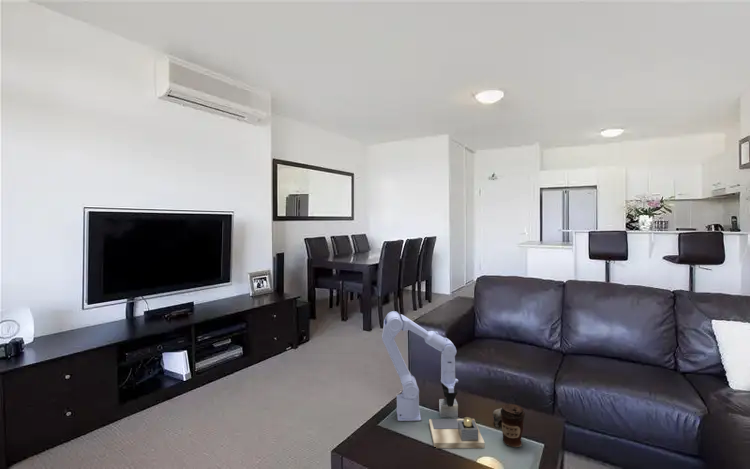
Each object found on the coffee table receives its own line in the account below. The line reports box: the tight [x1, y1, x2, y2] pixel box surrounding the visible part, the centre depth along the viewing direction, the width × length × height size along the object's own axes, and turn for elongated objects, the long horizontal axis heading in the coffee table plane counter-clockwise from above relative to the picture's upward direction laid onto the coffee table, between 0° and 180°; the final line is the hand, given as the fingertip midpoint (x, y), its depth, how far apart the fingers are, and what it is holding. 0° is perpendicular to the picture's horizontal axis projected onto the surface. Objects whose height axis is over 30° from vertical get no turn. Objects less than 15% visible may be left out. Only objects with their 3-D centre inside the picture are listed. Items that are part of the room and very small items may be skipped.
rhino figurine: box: [492, 407, 503, 428], centre depth 148 cm, size 4×14×6 cm, turn 122°
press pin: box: [463, 416, 473, 428], centre depth 135 cm, size 3×3×4 cm
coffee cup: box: [500, 403, 526, 448], centre depth 133 cm, size 9×8×13 cm
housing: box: [438, 398, 459, 418], centre depth 153 cm, size 7×4×6 cm, turn 89°
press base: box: [428, 418, 486, 449], centre depth 139 cm, size 18×15×6 cm
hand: (448, 401), depth 153 cm, fingers open, 7 cm apart
